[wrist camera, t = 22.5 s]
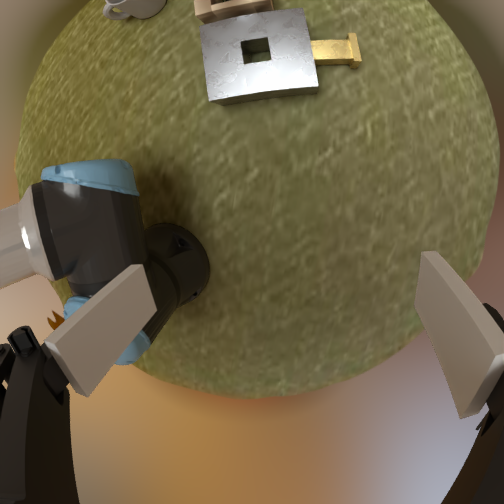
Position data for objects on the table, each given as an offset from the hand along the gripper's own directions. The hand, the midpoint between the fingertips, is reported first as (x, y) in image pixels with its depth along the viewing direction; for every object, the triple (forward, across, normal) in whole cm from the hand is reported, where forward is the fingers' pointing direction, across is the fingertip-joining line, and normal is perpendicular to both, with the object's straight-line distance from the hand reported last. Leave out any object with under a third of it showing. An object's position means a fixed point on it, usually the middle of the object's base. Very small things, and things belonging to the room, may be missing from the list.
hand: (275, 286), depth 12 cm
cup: (+31, -22, +37) cm, 53 cm away
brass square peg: (+30, +5, +19) cm, 36 cm away
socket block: (+31, -3, +19) cm, 36 cm away
